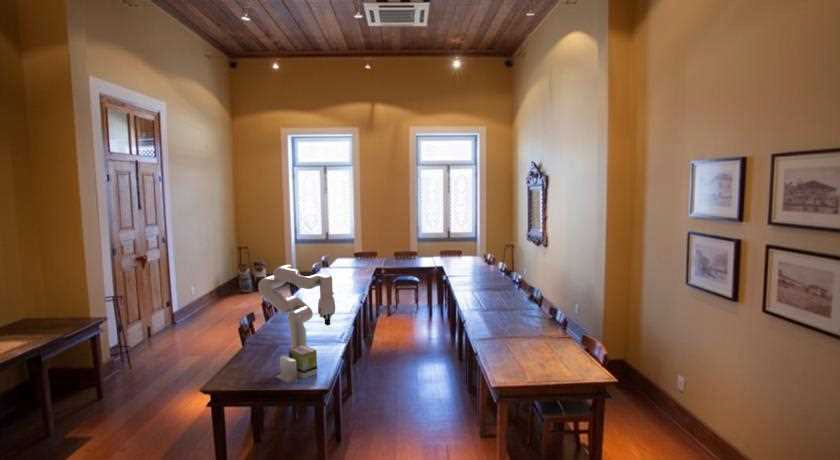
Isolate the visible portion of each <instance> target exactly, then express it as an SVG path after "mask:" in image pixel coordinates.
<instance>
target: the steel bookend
mask: <svg viewBox="0 0 840 460" xmlns="http://www.w3.org/2000/svg"><path fill="white" fill-rule="evenodd" d="M279 365H280V374H279V375H276V377H275V378H278V379H280V380H281V381H280V380H279V381H280V382H282V381H283V382H282V383H284V382H285V384H286V383H287V384H286V385H290V384H292V382H293V383H295V382H297V381H298V376H297V367H296V360H294V359H292V358H290V357H289V356H288V355H285V354H284V355H281V356H279ZM278 379H277V380H278ZM296 380H297V381H296ZM294 381H295V382H294Z"/></svg>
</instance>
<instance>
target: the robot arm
mask: <svg viewBox="0 0 840 460" xmlns="http://www.w3.org/2000/svg"><path fill="white" fill-rule="evenodd" d="M286 283H292V284H293V285H294V286H296V287H298V288H300V289H306V290H311V289H314V288H317V287H319V299H318V304H317V314H318V315H319V318H323V319H324V325H325V326H331V319H332V316H333V315H334V314H335V313H336V302H335V298H334V294H335V292H334V291H333V277H332V276H331V275H329V274H321V273H315V274H312V275H309V276H306V275H305V276H304V275H301V271H300V270H298V269H295V267H293V266H292V265H290V264H285V265H281V266H278V267H276V268H275V269H274V270H273V274H272V275H268V276H266V277H264V278H262V279H260V281H259V282H258V283H257V284H258V285H257V286H258V287H257V289H258V292H259V294H260V295H261V296H262V297H263V298H264V300H265V301H267V302H269V303H270V304H271V305H272V306H273V307H274V308H276V310H278V312H280V313H281V314H283V315H287V314H288V316H287V322H288V326H289V332H290V333H289V334H290V348H293V347H296V346H300V345H305V346H307V345H308V344H307V332H306V331H307V330H306V327H305V325H304V323H306V322H308V321H309V320H311V319H312V318H313V315H314V314H313V310H312V308H311V307H310V306H309V305H308V304H306V303H305V301H303V300H302V299H301V298H300V297H298V296H295V295H291V296H288V297H286V296H284V295H283V294H282V293H281V292H280V291H279V290H278V291H277V290H275V289H276V288H279V287H282V286H283V285H284V284H286ZM307 347H308V346H307Z"/></svg>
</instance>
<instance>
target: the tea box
mask: <svg viewBox="0 0 840 460" xmlns="http://www.w3.org/2000/svg"><path fill="white" fill-rule="evenodd" d="M317 356H318V355H317V349H315V348H312V347H310V346H305V345H300V346H296V347H293V348H291V347H289V348H288V357H290V358H292V359H294V360H296V367H297V377H299V378H300V377H301V379H302V378H303V379H302V380H305V379H308V378H310V377H309V376H311V377H313V376H316V375H317V374H318V361H317V360H318V359H317V358H318V357H317ZM315 374H316V375H315ZM312 375H313V376H312ZM307 377H308V378H307ZM304 378H305V379H304Z"/></svg>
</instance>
